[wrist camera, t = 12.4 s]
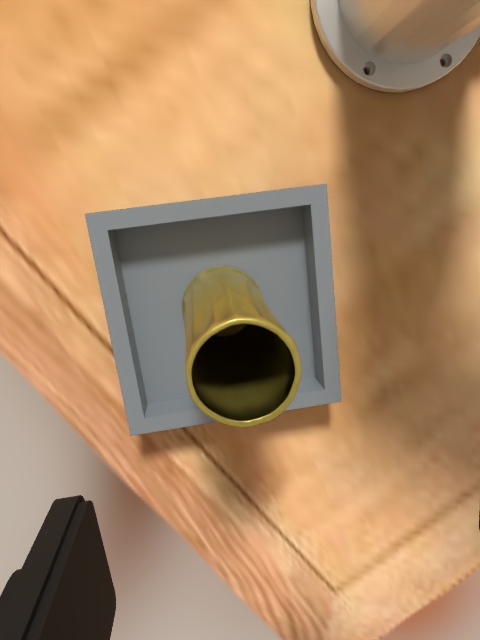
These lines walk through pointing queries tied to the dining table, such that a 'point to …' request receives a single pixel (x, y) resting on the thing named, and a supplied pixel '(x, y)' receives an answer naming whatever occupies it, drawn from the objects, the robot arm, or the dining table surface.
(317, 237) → the tray
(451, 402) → the dining table surface
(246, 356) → the vase
